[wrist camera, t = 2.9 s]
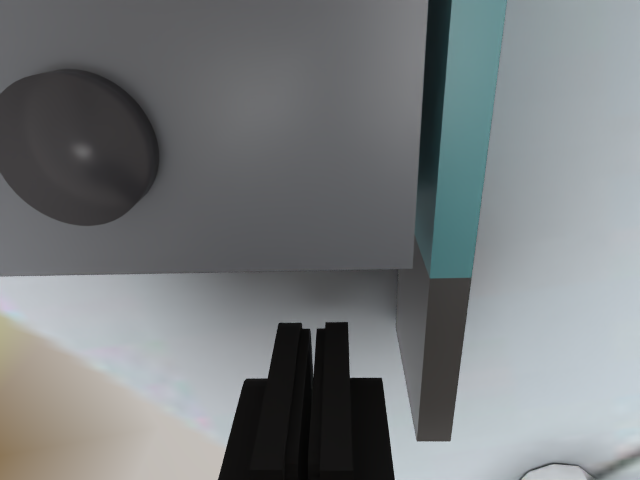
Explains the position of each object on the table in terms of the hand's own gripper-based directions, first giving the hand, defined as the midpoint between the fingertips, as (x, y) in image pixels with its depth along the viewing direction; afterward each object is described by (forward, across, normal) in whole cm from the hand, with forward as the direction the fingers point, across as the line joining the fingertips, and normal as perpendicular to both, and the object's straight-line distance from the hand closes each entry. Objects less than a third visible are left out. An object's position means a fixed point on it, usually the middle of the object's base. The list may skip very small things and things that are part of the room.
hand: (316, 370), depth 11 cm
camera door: (+3, -3, -5) cm, 7 cm away
